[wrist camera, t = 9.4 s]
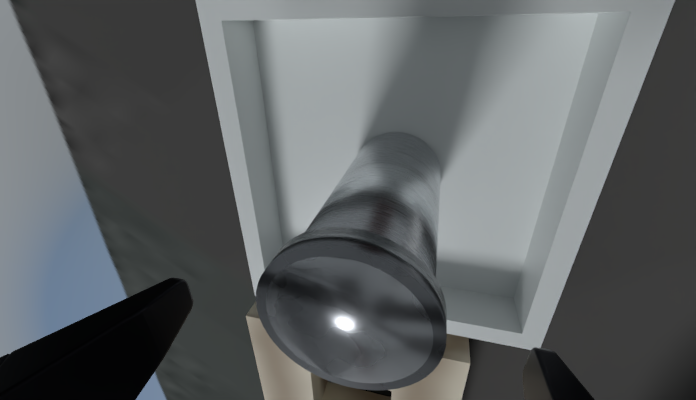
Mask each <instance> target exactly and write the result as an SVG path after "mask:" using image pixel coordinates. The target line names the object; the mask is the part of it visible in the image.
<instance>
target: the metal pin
mask: <svg viewBox="0 0 696 400" xmlns="http://www.w3.org/2000/svg"><path fill="white" fill-rule="evenodd" d="M440 179H441V169H440V164H439V160H438V158H437V156H436V154H435V152H434V151H433V150H432V148H431V147H430V146H429V145H428V144H427V143H426V142H424V141H423V140H422V139H420V138H418V137H417V136H414V135H412V134H408V133H404V132H388V133H384V134H381V135H378V136H376V137H374V138H372V139H371V140H370V141H368V142H367V143H366V144H365V145H364V146H363V148H362V149H361V150H360V152H359V153H358V155H357V156H356V158H355V159H354V161H353V162H352V164H351V165H350V166H349V168H348V169H347V171H346V172H345V174H344V175H343V177H342V178H341V180H340V181H339V183H338V184H337V186H336V187H335V189H334V190H333V192H332V193H331V194H330V196H329V197H328V199H327V200H326V202H325V203H324V205H323V206H322V208H321V209H320V211H319V212H318V214H317V215H316V217H315V218H314V219H313V221H312V222H311V224H310V225H309V227H308V228H307V230H306V231H305V232H304V233H302V234H300V235H298V236H296V237H294V238H293V239H291V240H290V241H288V242H287V243H286V244H285V245H284V246H283V247H282V248H281V249H280V250H279V252H278V253H277V254H276V256H275V257H274V258H273V260H272V261H271V262H270V264H269V265H268V266H267V268H266V269H265V271H264V272H263V274H262V275H261V277H260V279H259V282H258V285H257V289H256V306H257V311H258V315H259V318H260V320H261V323H262V325H263V327H264V329H265V330H266V332H267V334H268V335H269V337H270V338H271V339H272V341H273V342H274V343H275V344H276V345H277V346H278V348H279V349H280V350H281V351H282V352H283V353H284V354H286V355H287V356H288V357H289V358H290V359H291V360H293V361H294V362H295V363H297V364H298V365H300V366H301V367H303V368H304V369H306V370H307V371H309V372H311V373H313V374H315V375H317V376H319V377H321V378H323V379H325V380H328V381H331V382H333V383H336V384H340V385H343V386H346V387H351V388H356V389H363V390H392V389H398V388H402V387H406V386H409V385H412V384H414V383H417V382H419V381H420V380H422V379H424V378H425V377H427V376H428V375H429V374H430V373H431V372H433V371H434V369H435V368H436V367H437V366H438V365H439V363H440V361H441V359H442V357H443V355H444V352H445V348H446V339H447V310H446V302H445V298H444V295H443V292H442V290H441V287H440V285H439V283H438V281H437V280H436V267H437V245H438V223H439V201H440Z"/></svg>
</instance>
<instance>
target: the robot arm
mask: <svg viewBox="0 0 696 400" xmlns="http://www.w3.org/2000/svg"><path fill="white" fill-rule="evenodd" d="M192 306H193V299H192V295H191V292H190V289H189V286H188V283H187V282H186V281H185V280H183V279H178V278H169V279H167V280H165V281H163V282H161V283H159V284H156V285H154V286H152V287H150V288H148V289H146V290H144V291H141V292H139V293H137V294H135V295H133V296H131V297H129V298H126V299H124V300H123V301H120V302H118V303H116V304H114V305H112V306H109V307H107V308H105V309H103V310H101V311H99V312H97V313H94V314H92V315H90V316H88V317H86V318H84V319H82V320H80V321H77V322H75V323H73V324H71V325H69V326H67V327H64V328H62V329H60V330H58V331H56V332H54V333H52V334H50V335H47V336H45V337H43V338H41V339H39V340H37V341H35V342H32V343H30V344H28V345H26V346H24V347H22V348H20V349H17V350H15V351H13V352H12V353H11V354H7V355H5V356H3V357H0V400H135V399H136V398H137V396H138V395H139V394H140V392H141V391H142V389H143V388H144V386H145V385H146V383H147V382H148V380H149V379H150V378H151V376H152V375H153V373H154V372H155V370H156V369H157V367H158V366H159V364H160V363H161V361H162V360H163V358H164V357H165V355H166V353H167V352H168V350H169V348H170V346H171V345H172V343H173V341H174V339H175V337H176V336H177V334H178V332H179V330H180V329H181V327H182V325H183V323H184V322H185V320H186V318H187V316H188V314H189V313H190V311H191V309H192ZM523 387H524V398H525V400H594V398H593V397H592V396H591V395H590V394H589V392H588V391H587V390H586V389H585V387H584V386H583V385H582V384H581V383H580V381H579V380H578V379H577V378H576V377H575V375H574V374H573V373H572V372H571V371H570V369H569V368H568V367H567V366H566V365H565V363H564V362H563V361H562V360H561V359H560V357H559V356H558V355H557V354H556V353H555V352H554V351H552V350H548V349H543V348H537V347H534V348H532V350H531V351H530V354H529V357H528V359H527V362H526V365H525V367H524V370H523Z"/></svg>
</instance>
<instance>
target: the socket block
mask: <svg viewBox="0 0 696 400" xmlns="http://www.w3.org/2000/svg"><path fill="white" fill-rule="evenodd" d="M246 319H247V323H248V328H249V332H250V336H251V341H252V345H253V349H254V354H255V358H256V363H257V367H258V371H259V376H260V380H261V385H262V389H263V393H264V398H265V400H462V396H463V392H464V388H465V383H466V379H467V375H468V371H469V367H470V350H469V338H467V337H462V336H457V335H452V334H447V339H446V348H445V352H444V355H443V357H442V359H441V361H440V363H439V365H438V366H437V367H436V368H435V369H434V371H433V372H431V373H430V374H429V375H428V376H427V377H425V378H424V379H422V380H420V381H419V382H417V383H414V384H412V385H409V386H406V387H402V388H398V389H392V390H389V391H392V394H391V397H388V396H384V395H380V394H376V393H372V392H368V391H364V390H360V389H356V388H351V387H346V386H343V385H340V384H336V383H332V382H328V380H325V379H323V378H321V377H319V376H317V375H315V374H313V373H311V372H309V371H307V370H306V369H304V368H303V367H301V366H300V365H298V364H297V363H295V362H294V361H293V360H291V359H290V358H289V357H288V356H287V355H286V354H284V353H283V352H282V351H281V350H280V349H279V348H278V346H277V345H276V344H275V343H274V342H273V341H272V339H271V338H270V337H269V335H268V334H267V332H266V330H265V329H264V327H263V325H262V323H261V320H260V318H259V315H258V311H257V306H256V302H255V303H254V305H253V306H252V308H251V309H250V311H249V312H248V313H247V315H246Z"/></svg>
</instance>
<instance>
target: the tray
mask: <svg viewBox="0 0 696 400" xmlns="http://www.w3.org/2000/svg"><path fill="white" fill-rule="evenodd" d="M674 2H675V0H196V5H197V10H198V15H199V20H200V25H201V30H202V35H203V40H204V45H205V50H206V55H207V60H208V65H209V70H210V75H211V80H212V85H213V90H214V94H215V99H216V104H217V109H218V114H219V119H220V124H221V129H222V134H223V139H224V144H225V149H226V154H227V159H228V164H229V169H230V174H231V179H232V184H233V189H234V194H235V199H236V204H237V209H238V214H239V219H240V224H241V229H242V234H243V239H244V244H245V249H246V254H247V259H248V264H249V269H250V274H251V278H252V283H253V288H254V293H255V296H256V289H257V285H258V282H259V279H260V277H261V275H262V274H263V272H264V271H265V269H266V268H267V266H268V265H269V264H270V262H271V261H272V260H273V258H274V257H275V256H276V254H277V253H278V252H279V250H280V249H281V248H282V247H283V246H284V245H285V244H286V243H287V242H288V241H290V240H291V239H293V238H294V237H296V236H298V235H300V234H302V233H304V232H305V231H306V230H307V228H308V227H309V225H310V224H311V222H312V221H313V219H314V218H315V217H316V215H317V214H318V212H319V211H320V209H321V208H322V206H323V205H324V203H325V202H326V200H327V199H328V197H329V196H330V194H331V193H332V192H333V190H334V189H335V187H336V186H337V184H338V183H339V181H340V180H341V178H342V177H343V175H344V174H345V172H346V171H347V169H348V168H349V166H350V165H351V164H352V162H353V161H354V159H355V158H356V156H357V155H358V153H359V152H360V150H361V149H362V148H363V146H364V145H365V144H366V143H367V142H368V141H370V140H371V139H372V138H374V137H376V136H378V135H381V134H384V133H388V132H404V133H408V134H412V135H414V136H417V137H418V138H420V139H422V140H423V141H424V142H426V143H427V144H428V145H429V146H430V147H431V148H432V150H433V151H434V152H435V154H436V156H437V158H438V160H439V164H440V169H441V179H440V201H439V223H438V245H437V267H436V280H437V281H438V283H439V285H440V287H441V290H442V292H443V295H444V298H445V302H446V310H447V334H452V335H457V336H462V337H467V338H472V339H478V340H483V341H488V342H493V343H498V344H503V345H508V346H513V347H518V348H523V349H529V350H532V348H534V347H537V348H540V347H541V345H542V342H543V340H544V337H545V335H546V332H547V329H548V327H549V324H550V322H551V319H552V317H553V314H554V311H555V309H556V306H557V304H558V301H559V298H560V296H561V293H562V291H563V288H564V286H565V283H566V280H567V278H568V275H569V273H570V270H571V267H572V265H573V262H574V260H575V257H576V255H577V252H578V249H579V247H580V244H581V242H582V239H583V236H584V234H585V231H586V229H587V226H588V224H589V221H590V218H591V216H592V213H593V211H594V208H595V205H596V203H597V200H598V198H599V195H600V193H601V190H602V187H603V185H604V182H605V180H606V177H607V175H608V172H609V169H610V167H611V164H612V162H613V159H614V156H615V154H616V151H617V149H618V146H619V144H620V141H621V138H622V136H623V133H624V131H625V128H626V125H627V123H628V120H629V118H630V115H631V113H632V110H633V107H634V105H635V102H636V100H637V97H638V94H639V92H640V89H641V87H642V84H643V82H644V79H645V76H646V74H647V71H648V69H649V66H650V63H651V61H652V58H653V56H654V53H655V51H656V48H657V45H658V43H659V40H660V38H661V35H662V32H663V30H664V27H665V25H666V22H667V20H668V17H669V14H670V12H671V9H672V7H673V4H674Z"/></svg>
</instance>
